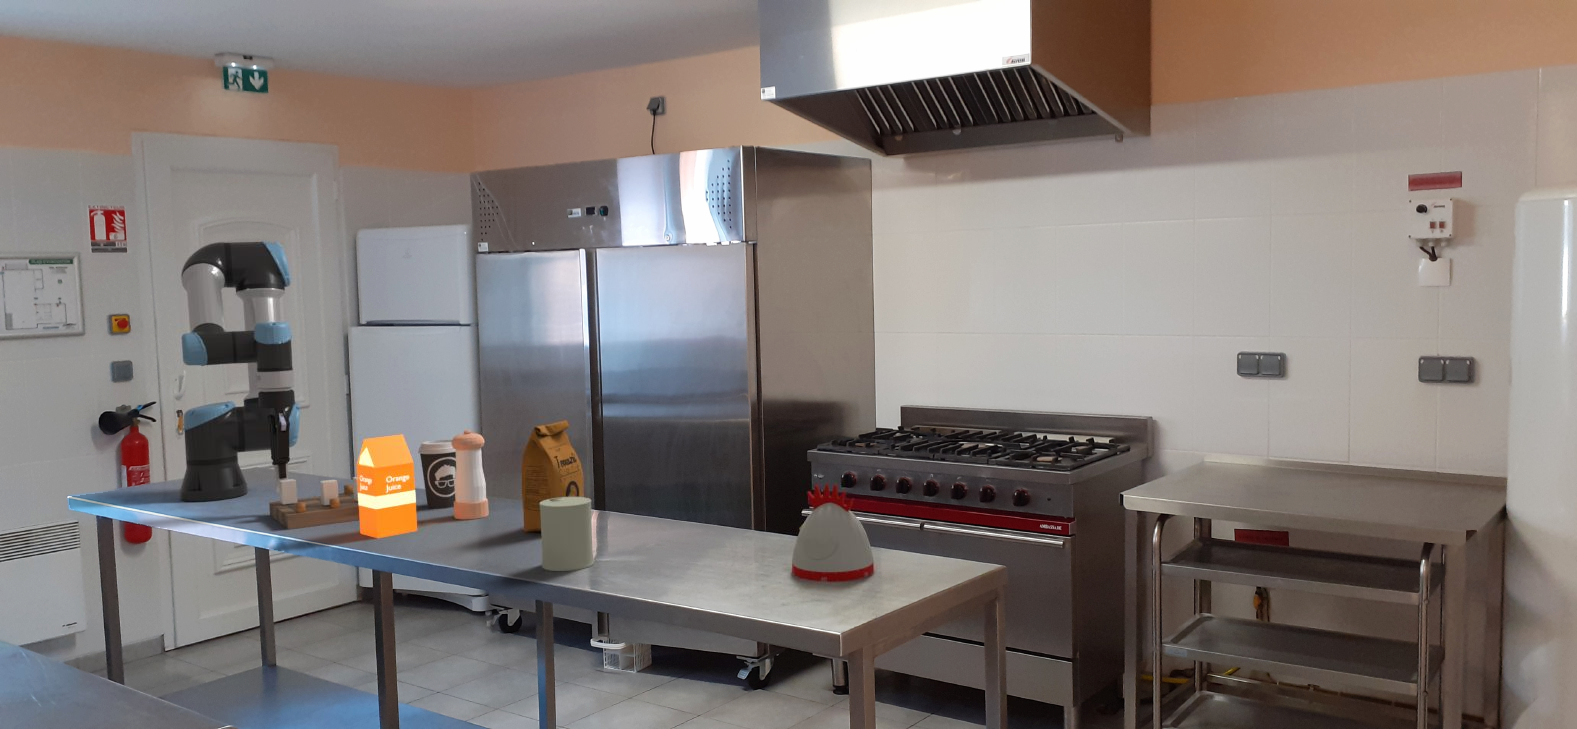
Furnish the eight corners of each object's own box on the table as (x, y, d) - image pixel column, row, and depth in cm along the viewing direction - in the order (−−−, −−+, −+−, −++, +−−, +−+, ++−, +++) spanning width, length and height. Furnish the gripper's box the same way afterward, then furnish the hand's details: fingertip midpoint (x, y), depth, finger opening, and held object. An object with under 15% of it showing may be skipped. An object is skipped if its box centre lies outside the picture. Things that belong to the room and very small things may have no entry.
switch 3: (353, 499, 255) (352, 477, 255) (367, 497, 257) (366, 475, 256) (357, 501, 252) (356, 478, 252) (371, 499, 254) (369, 477, 254)
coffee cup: (470, 501, 266) (466, 438, 265) (454, 509, 257) (450, 444, 256) (431, 502, 267) (427, 439, 266) (413, 510, 258) (410, 445, 257)
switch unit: (270, 515, 256) (268, 493, 256) (360, 503, 268) (359, 482, 268) (288, 529, 240) (287, 506, 240) (384, 516, 252) (383, 494, 251)
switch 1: (280, 502, 253) (278, 480, 253) (294, 500, 255) (293, 478, 255) (282, 504, 251) (281, 482, 251) (297, 502, 253) (295, 480, 252)
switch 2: (321, 503, 251) (320, 481, 251) (335, 501, 253) (334, 479, 252) (324, 505, 248) (323, 482, 248) (338, 503, 250) (337, 481, 250)
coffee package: (593, 524, 237) (589, 420, 235) (555, 536, 226) (550, 427, 224) (556, 520, 241) (551, 418, 240) (516, 532, 230) (511, 425, 229)
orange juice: (359, 533, 234) (354, 438, 233) (399, 525, 240) (394, 433, 239) (378, 538, 229) (372, 440, 227) (418, 530, 235) (412, 435, 234)
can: (571, 556, 208) (568, 492, 207) (604, 563, 202) (602, 496, 202) (531, 566, 201) (528, 500, 200) (564, 574, 195) (561, 505, 194)
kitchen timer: (810, 559, 201) (808, 475, 200) (884, 564, 196) (882, 478, 195) (780, 578, 188) (777, 489, 187) (857, 584, 183) (855, 493, 182)
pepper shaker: (447, 518, 247) (443, 431, 245) (468, 512, 253) (464, 427, 252) (474, 520, 244) (470, 432, 243) (495, 513, 251) (491, 428, 249)
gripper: (252, 389, 260) (259, 490, 261) (263, 392, 249) (270, 497, 251) (287, 386, 264) (293, 486, 266) (299, 389, 253) (306, 493, 255)
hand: (282, 491), depth 258 cm, fingers closed
